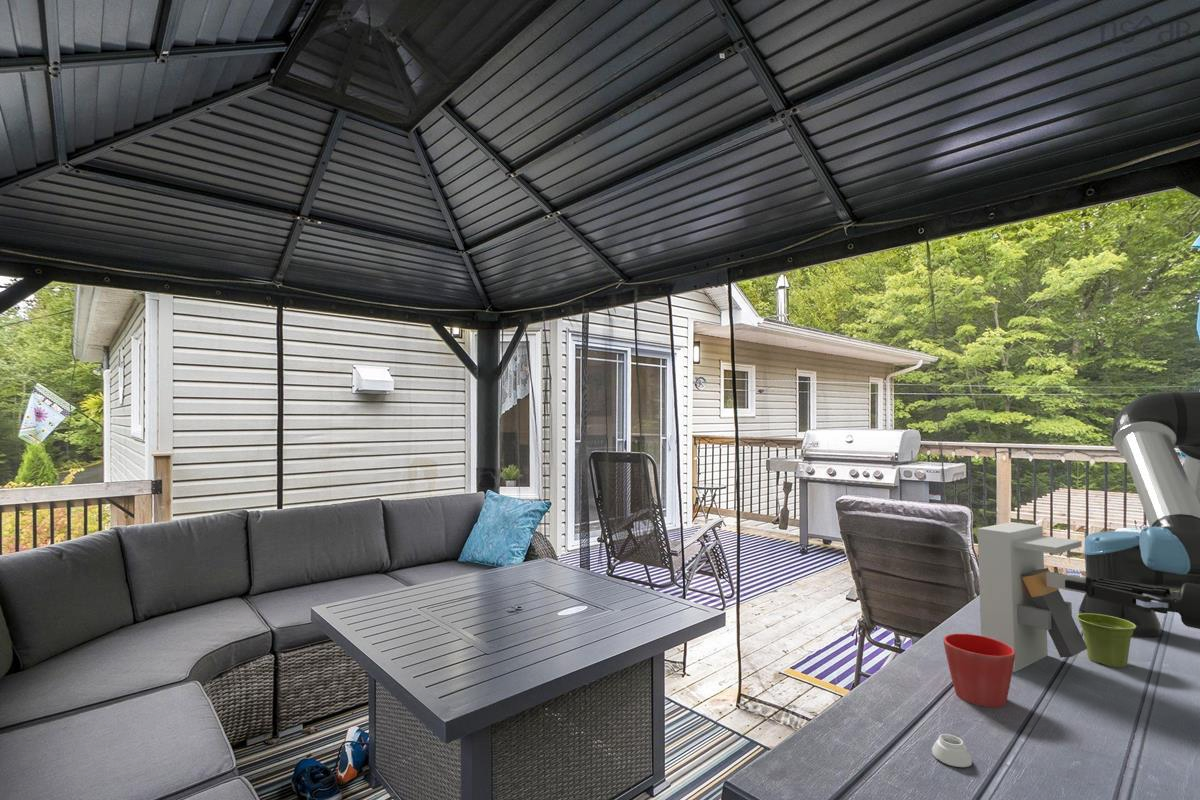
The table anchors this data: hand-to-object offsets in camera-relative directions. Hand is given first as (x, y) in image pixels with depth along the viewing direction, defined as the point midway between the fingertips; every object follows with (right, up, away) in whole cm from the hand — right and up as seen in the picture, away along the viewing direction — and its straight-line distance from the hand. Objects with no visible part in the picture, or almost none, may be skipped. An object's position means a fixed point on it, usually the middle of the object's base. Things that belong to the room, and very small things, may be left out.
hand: (1047, 578), depth 114 cm
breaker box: (-1, -18, +2) cm, 19 cm away
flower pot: (-23, -18, -13) cm, 32 cm away
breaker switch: (+2, -14, -4) cm, 14 cm away
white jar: (-40, -17, -32) cm, 54 cm away
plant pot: (+15, -19, +3) cm, 24 cm away
